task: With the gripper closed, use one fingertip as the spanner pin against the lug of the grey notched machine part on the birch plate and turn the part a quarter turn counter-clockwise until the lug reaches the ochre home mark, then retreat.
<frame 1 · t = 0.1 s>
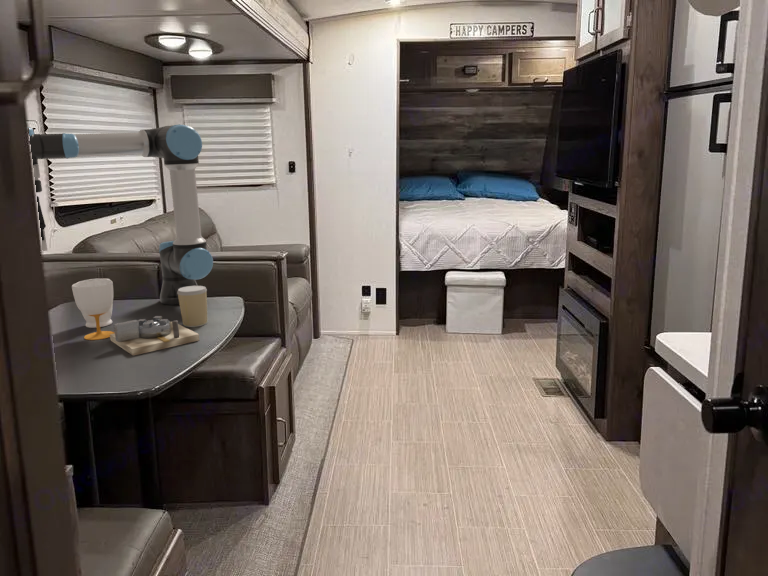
hand: (37, 248, 203), 28 cm above the table, fingers open, 13 cm apart
coffee cup: (195, 324, 216), on the table
cup: (99, 336, 206), on the table
grey notched machine part: (143, 327, 196), point 5 cm above the table, hinge at 0.0°
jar: (99, 325, 219), on the table
housing plate: (154, 340, 199), on the table
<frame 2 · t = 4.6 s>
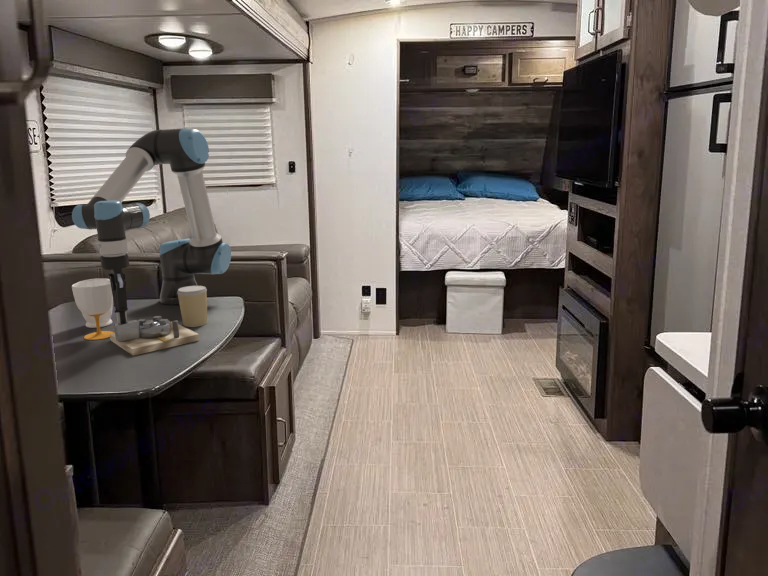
hand: (123, 332, 194), 4 cm above the table, fingers closed
grey notched machine part: (143, 327, 196), point 5 cm above the table, hinge at 1.6°, touching gripper
everything else where it was.
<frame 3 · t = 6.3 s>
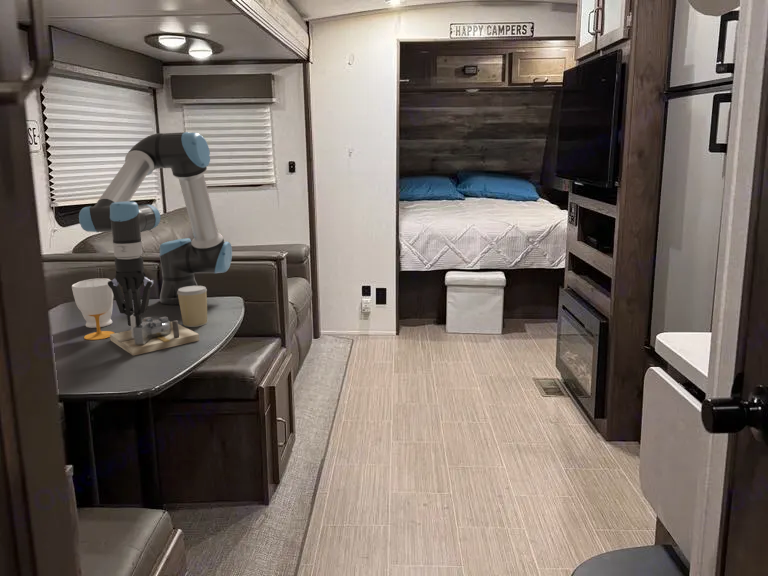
hand: (136, 336, 190), 4 cm above the table, fingers closed
grey notched machine part: (149, 328, 195), point 5 cm above the table, hinge at 48.5°, touching gripper
everything else where it was.
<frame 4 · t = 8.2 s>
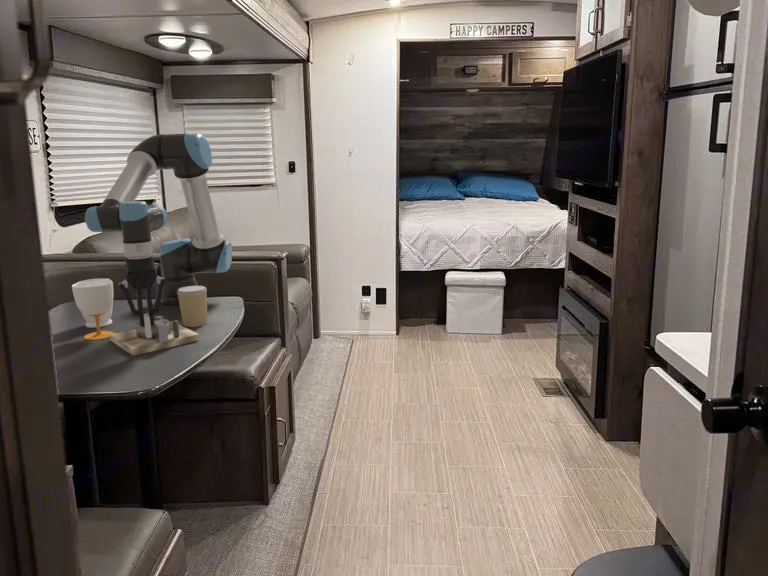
hand: (148, 336, 189), 4 cm above the table, fingers closed
grey notched machine part: (155, 327, 195), point 5 cm above the table, hinge at 84.4°
everything else where it was.
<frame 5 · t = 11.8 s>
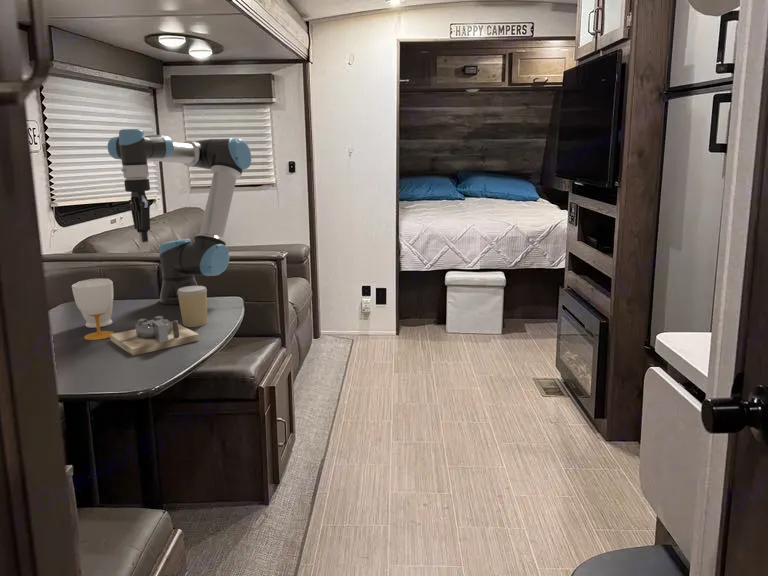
hand: (145, 251, 213), 24 cm above the table, fingers closed
nothing on the table moved.
at the end: grey notched machine part at +84° (first picture: +0°) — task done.
